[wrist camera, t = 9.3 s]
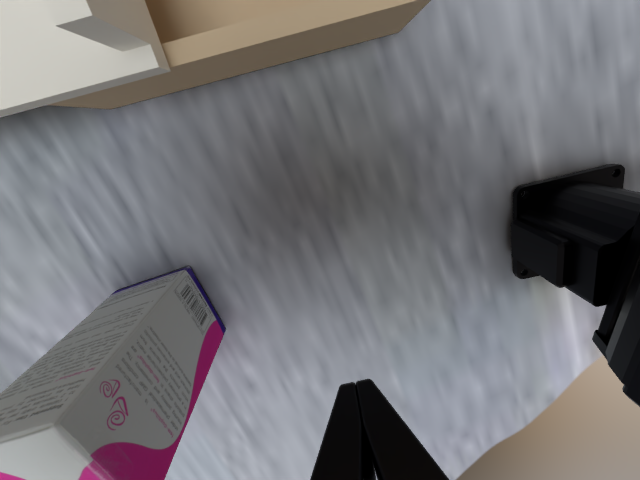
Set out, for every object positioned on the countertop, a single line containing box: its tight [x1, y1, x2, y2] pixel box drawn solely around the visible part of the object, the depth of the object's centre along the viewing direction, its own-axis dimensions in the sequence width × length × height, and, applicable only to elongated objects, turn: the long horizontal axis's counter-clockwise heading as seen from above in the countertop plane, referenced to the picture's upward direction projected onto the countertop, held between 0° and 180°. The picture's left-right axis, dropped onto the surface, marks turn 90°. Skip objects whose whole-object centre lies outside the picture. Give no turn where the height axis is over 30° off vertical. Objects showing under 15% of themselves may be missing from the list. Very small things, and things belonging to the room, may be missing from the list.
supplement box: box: [0, 266, 226, 480], centre depth 16 cm, size 6×6×12 cm
